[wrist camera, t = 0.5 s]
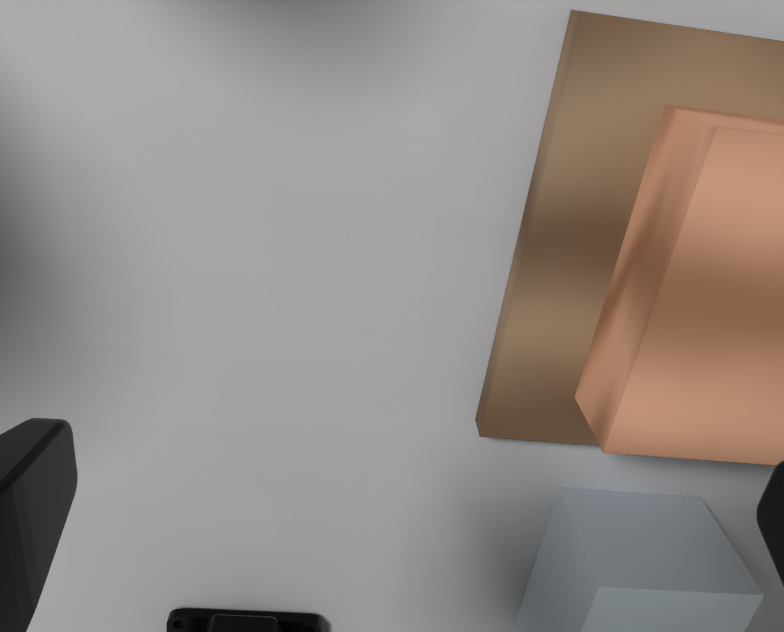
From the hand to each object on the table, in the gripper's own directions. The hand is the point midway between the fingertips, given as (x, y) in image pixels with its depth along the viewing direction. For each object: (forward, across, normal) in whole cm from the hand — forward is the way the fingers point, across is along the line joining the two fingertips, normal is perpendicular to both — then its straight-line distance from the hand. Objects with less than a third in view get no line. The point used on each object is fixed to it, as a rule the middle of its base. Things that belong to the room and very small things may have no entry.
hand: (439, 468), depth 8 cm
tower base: (+14, -12, +2) cm, 18 cm away
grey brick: (+14, -11, +16) cm, 24 cm away
